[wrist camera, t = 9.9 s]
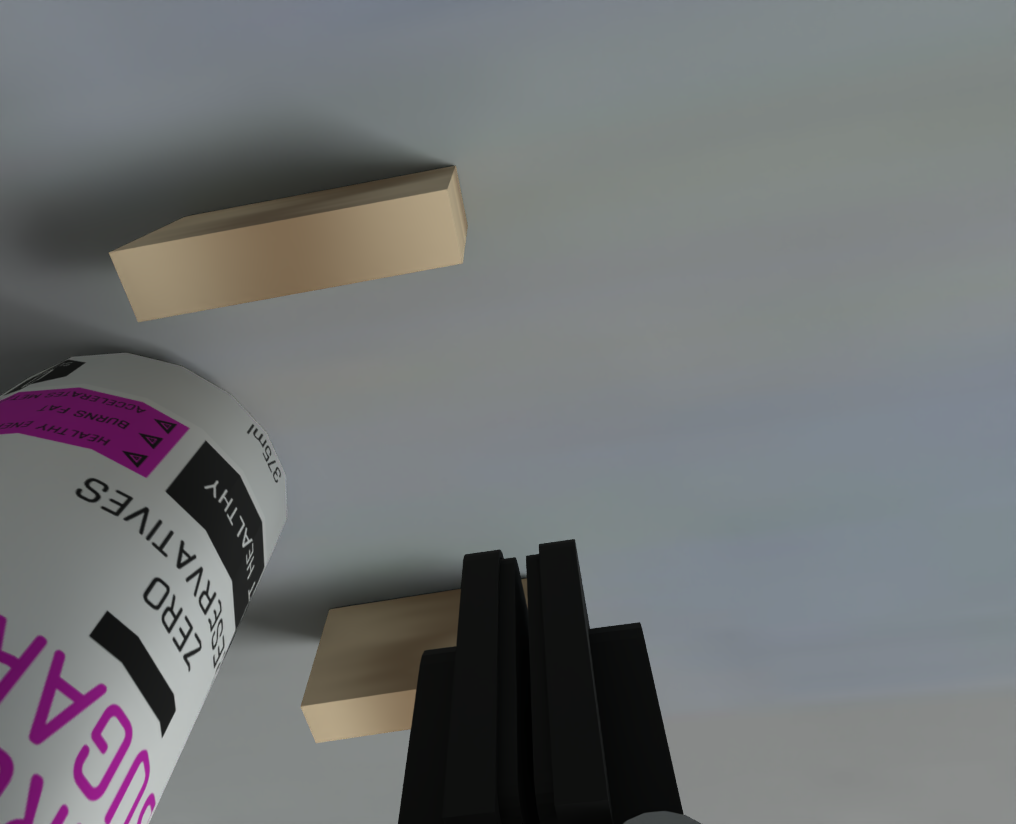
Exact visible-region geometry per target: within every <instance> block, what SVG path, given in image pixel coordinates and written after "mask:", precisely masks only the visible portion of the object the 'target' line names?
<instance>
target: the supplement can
mask: <svg viewBox="0 0 1016 824" xmlns="http://www.w3.org/2000/svg"><path fill="white" fill-rule="evenodd" d="M286 519H287V496H286V475H285V473H284V471H283V468H282V466H281V464H280V462H279V459H278V457H277V455H276V453H275V450H274V448H273V446H272V444H271V441H270V439H269V437H268V435H267V433H266V432H265V430H264V429H263V428H262V427H261V426H260V425H259V424H258V423H257V422H256V421H255V420H254V419H253V418H252V416H251V415H250V414H249V413H248V412H247V411H246V410H245V409H244V408H243V407H242V406H241V405H240V404H239V403H238V401H237V400H236V399H235V398H234V397H233V396H232V395H231V394H229V393H228V392H226V391H224V390H223V389H221V388H219V387H217V386H216V385H214V384H212V383H210V382H209V381H207V380H205V379H204V378H202V377H200V376H198V375H197V374H195V373H193V372H191V371H190V370H188V369H186V368H185V367H183V366H180V365H176V364H172V363H167V362H163V361H159V360H155V359H151V358H147V357H142V356H138V355H134V354H130V353H115V354H102V355H89V356H76V357H71V358H69V359H67V360H65V361H63V362H61V363H58V364H56V365H54V366H52V367H50V368H48V369H46V370H44V371H42V372H40V373H37V374H35V375H33V376H31V377H29V378H27V379H26V380H24V381H23V382H21V383H20V384H18V385H16V386H15V387H13V388H12V389H10V390H9V391H7V392H5V393H4V394H2V395H1V396H0V824H149V822H150V820H151V818H152V815H153V813H154V811H155V809H156V807H157V804H158V802H159V800H160V798H161V796H162V794H163V791H164V789H165V787H166V785H167V783H168V780H169V778H170V776H171V774H172V772H173V769H174V767H175V765H176V763H177V761H178V759H179V756H180V754H181V752H182V750H183V748H184V745H185V743H186V741H187V739H188V737H189V734H190V732H191V730H192V728H193V726H194V723H195V721H196V719H197V717H198V715H199V713H200V710H201V708H202V706H203V704H204V702H205V699H206V697H207V695H208V693H209V691H210V688H211V686H212V684H213V682H214V680H215V677H216V675H217V673H218V671H219V669H220V667H221V664H222V662H223V660H224V658H225V656H226V653H227V651H228V649H229V647H230V645H231V642H232V640H233V638H234V636H235V634H236V631H237V629H238V627H239V625H240V623H241V621H242V618H243V616H244V614H245V612H246V610H247V607H248V605H249V603H250V601H251V599H252V596H253V594H254V592H255V590H256V588H257V586H258V583H259V581H260V579H261V577H262V575H263V572H264V570H265V568H266V566H267V564H268V561H269V559H270V557H271V555H272V553H273V550H274V548H275V545H276V543H277V541H278V538H279V536H280V534H281V531H282V529H283V526H284V524H285V522H286Z"/></svg>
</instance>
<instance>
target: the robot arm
mask: <svg viewBox="0 0 1016 824" xmlns="http://www.w3.org/2000/svg"><path fill="white" fill-rule="evenodd" d="M526 569H527V597H528V608H527V603H526V599H525V594H524V590H523V585H522V581H521V576H520V572H519V567H518V563H517V560H516V558H515V557H514V558H507V559H504V558H503V554H502V552H501V550H494V551H487V552H480V553H473V554H465V556H464V559H463V569H462V582H461V594H460V606H459V618H458V630H457V643H456V646H454V647H446V648H438V649H430V650H425V651H424V652H423V654H422V657H421V661H420V666H419V674H418V681H417V688H416V696H415V703H414V710H413V718H412V725H411V732H410V740H409V747H408V754H407V762H406V769H405V776H404V784H403V791H402V798H401V806H400V813H399V820H398V824H701V823H699V822H697V821H696V820H694V819H692V818H690V817H688V816H686V815H683V810H682V806H681V801H680V797H679V792H678V788H677V783H676V779H675V774H674V770H673V765H672V761H671V756H670V752H669V747H668V743H667V738H666V734H665V729H664V725H663V720H662V716H661V711H660V707H659V702H658V698H657V693H656V689H655V684H654V680H653V675H652V671H651V667H650V662H649V658H648V653H647V649H646V644H645V640H644V635H643V631H642V627H641V624H640V623H631V624H624V625H616V626H608V627H601V628H593V629H590V626H589V620H588V614H587V609H586V603H585V597H584V591H583V585H582V579H581V573H580V567H579V561H578V555H577V549H576V543H575V539H572V540H565V541H558V542H551V543H544V544H539V554H536V555H529V556H526Z"/></svg>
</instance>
